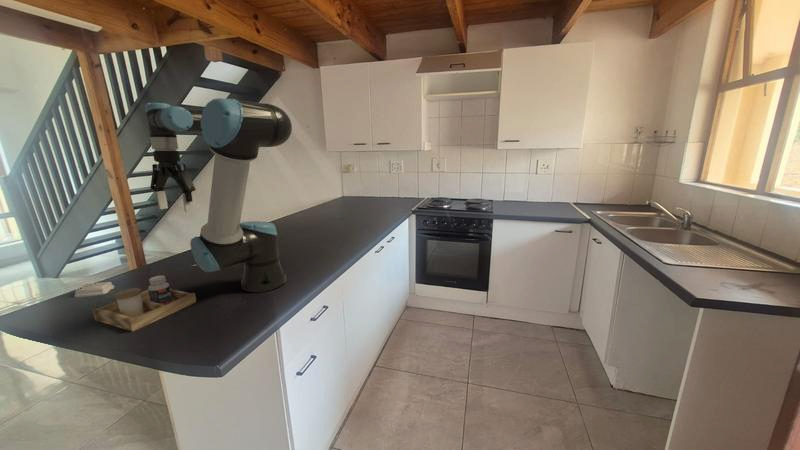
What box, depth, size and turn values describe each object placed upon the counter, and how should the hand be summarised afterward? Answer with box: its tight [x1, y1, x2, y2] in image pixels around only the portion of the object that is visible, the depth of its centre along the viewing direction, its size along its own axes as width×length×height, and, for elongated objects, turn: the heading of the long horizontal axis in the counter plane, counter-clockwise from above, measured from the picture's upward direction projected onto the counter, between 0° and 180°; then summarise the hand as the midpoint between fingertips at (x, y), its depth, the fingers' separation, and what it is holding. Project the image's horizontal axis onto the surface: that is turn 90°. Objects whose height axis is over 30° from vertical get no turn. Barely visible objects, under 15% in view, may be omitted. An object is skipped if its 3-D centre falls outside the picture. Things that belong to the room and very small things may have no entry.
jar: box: [114, 287, 145, 318], centre depth 90 cm, size 6×6×8 cm
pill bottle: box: [147, 275, 172, 304], centre depth 97 cm, size 5×5×9 cm
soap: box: [74, 281, 115, 298], centre depth 109 cm, size 9×7×3 cm
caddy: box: [91, 288, 197, 332], centre depth 95 cm, size 17×18×4 cm
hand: (176, 209), depth 115 cm, fingers open, 13 cm apart
